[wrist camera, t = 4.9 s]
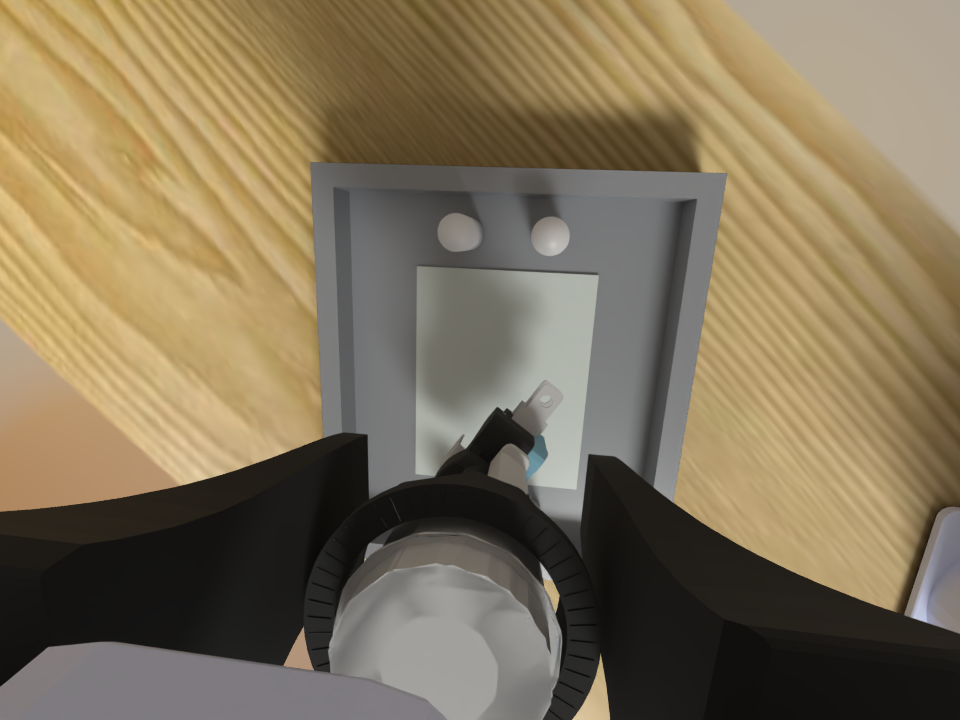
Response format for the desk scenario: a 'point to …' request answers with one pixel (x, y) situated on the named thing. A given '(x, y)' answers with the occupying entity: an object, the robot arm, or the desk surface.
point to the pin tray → (512, 314)
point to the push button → (462, 585)
